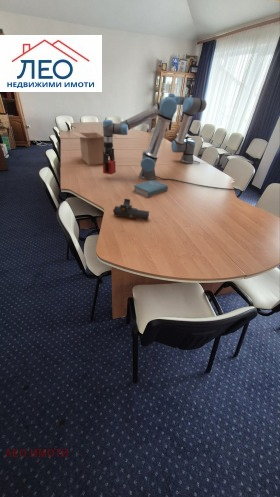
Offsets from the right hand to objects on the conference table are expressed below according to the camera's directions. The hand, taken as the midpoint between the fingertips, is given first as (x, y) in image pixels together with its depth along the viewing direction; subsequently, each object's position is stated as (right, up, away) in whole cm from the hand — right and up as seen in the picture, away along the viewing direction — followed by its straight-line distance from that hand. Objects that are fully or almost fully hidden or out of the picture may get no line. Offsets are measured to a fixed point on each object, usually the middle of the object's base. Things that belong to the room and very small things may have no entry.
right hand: (167, 130), depth 265 cm
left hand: (-60, -74, -73) cm, 120 cm away
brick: (-60, -75, -72) cm, 120 cm away
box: (-83, -48, -28) cm, 100 cm away
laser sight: (-39, -122, -124) cm, 178 cm away
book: (-25, -96, -86) cm, 131 cm away
